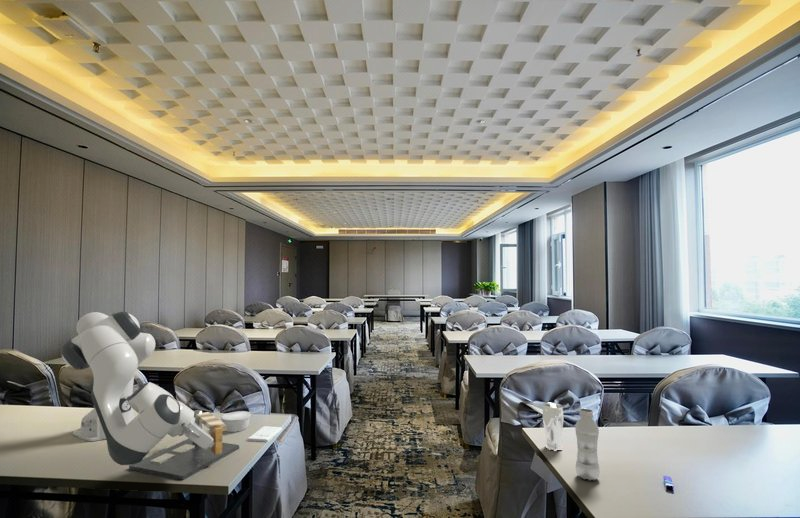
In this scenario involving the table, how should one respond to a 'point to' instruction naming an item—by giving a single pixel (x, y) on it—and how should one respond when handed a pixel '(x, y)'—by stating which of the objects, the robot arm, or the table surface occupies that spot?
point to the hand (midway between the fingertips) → (211, 444)
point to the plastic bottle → (587, 446)
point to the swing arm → (213, 430)
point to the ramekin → (236, 421)
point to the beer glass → (553, 425)
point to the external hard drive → (265, 434)
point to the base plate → (182, 458)
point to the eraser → (668, 482)
